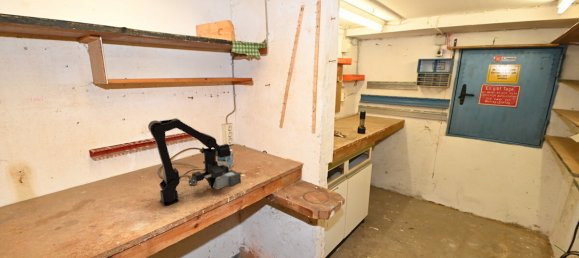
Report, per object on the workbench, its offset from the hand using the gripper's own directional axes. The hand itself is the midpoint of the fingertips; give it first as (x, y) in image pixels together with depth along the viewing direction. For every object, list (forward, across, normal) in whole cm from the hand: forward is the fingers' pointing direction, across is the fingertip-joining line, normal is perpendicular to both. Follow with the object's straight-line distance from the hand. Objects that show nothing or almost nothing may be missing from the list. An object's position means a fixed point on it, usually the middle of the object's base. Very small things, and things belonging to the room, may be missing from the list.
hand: (211, 187), depth 134 cm
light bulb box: (+1, +24, +22) cm, 32 cm away
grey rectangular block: (+1, +8, 0) cm, 8 cm away
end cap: (+1, +12, 0) cm, 12 cm away
